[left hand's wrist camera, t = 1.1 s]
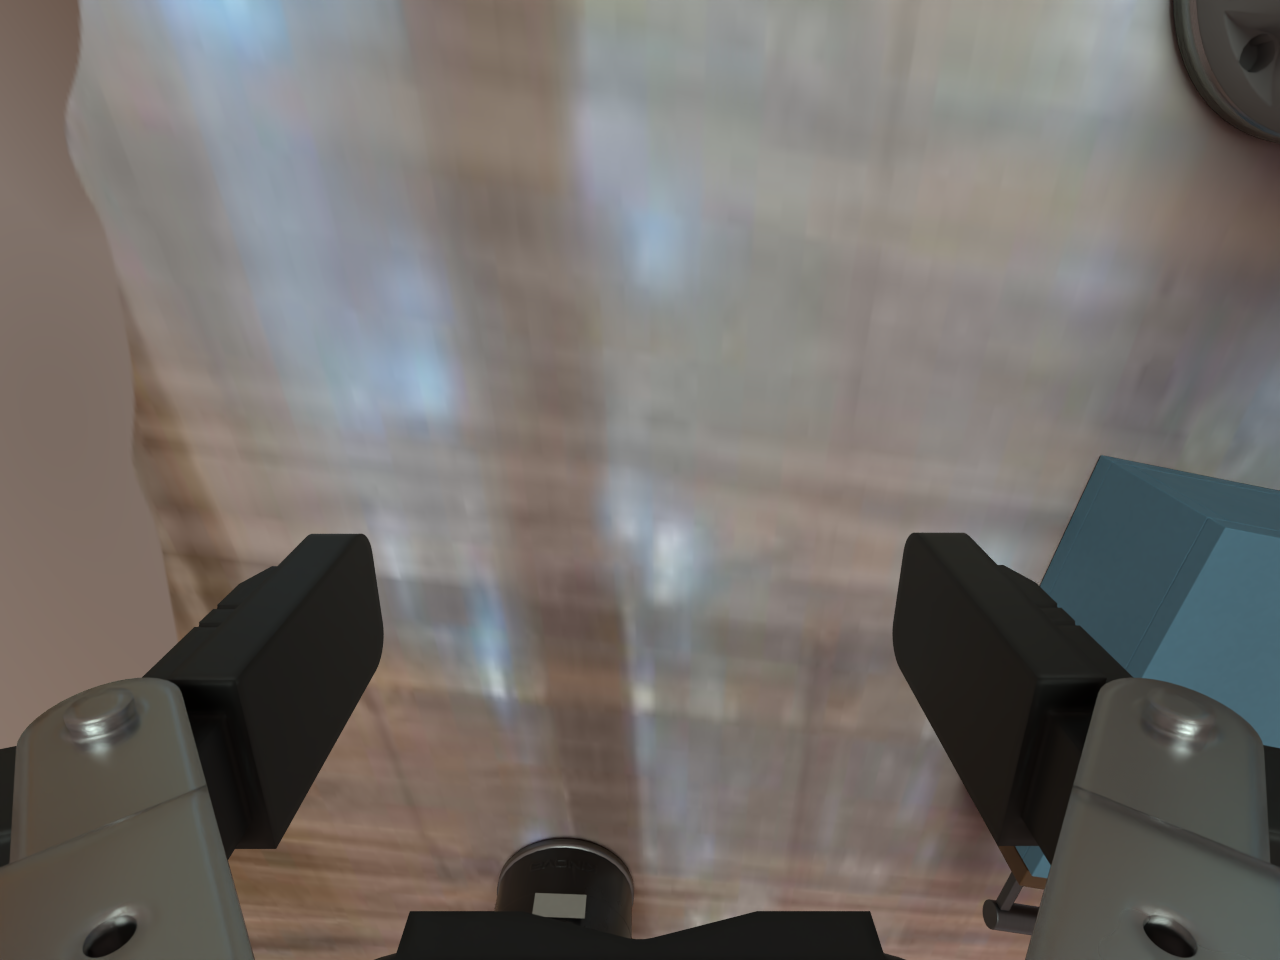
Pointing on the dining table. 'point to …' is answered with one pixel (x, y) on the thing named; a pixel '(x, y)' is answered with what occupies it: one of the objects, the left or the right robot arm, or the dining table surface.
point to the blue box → (1177, 586)
